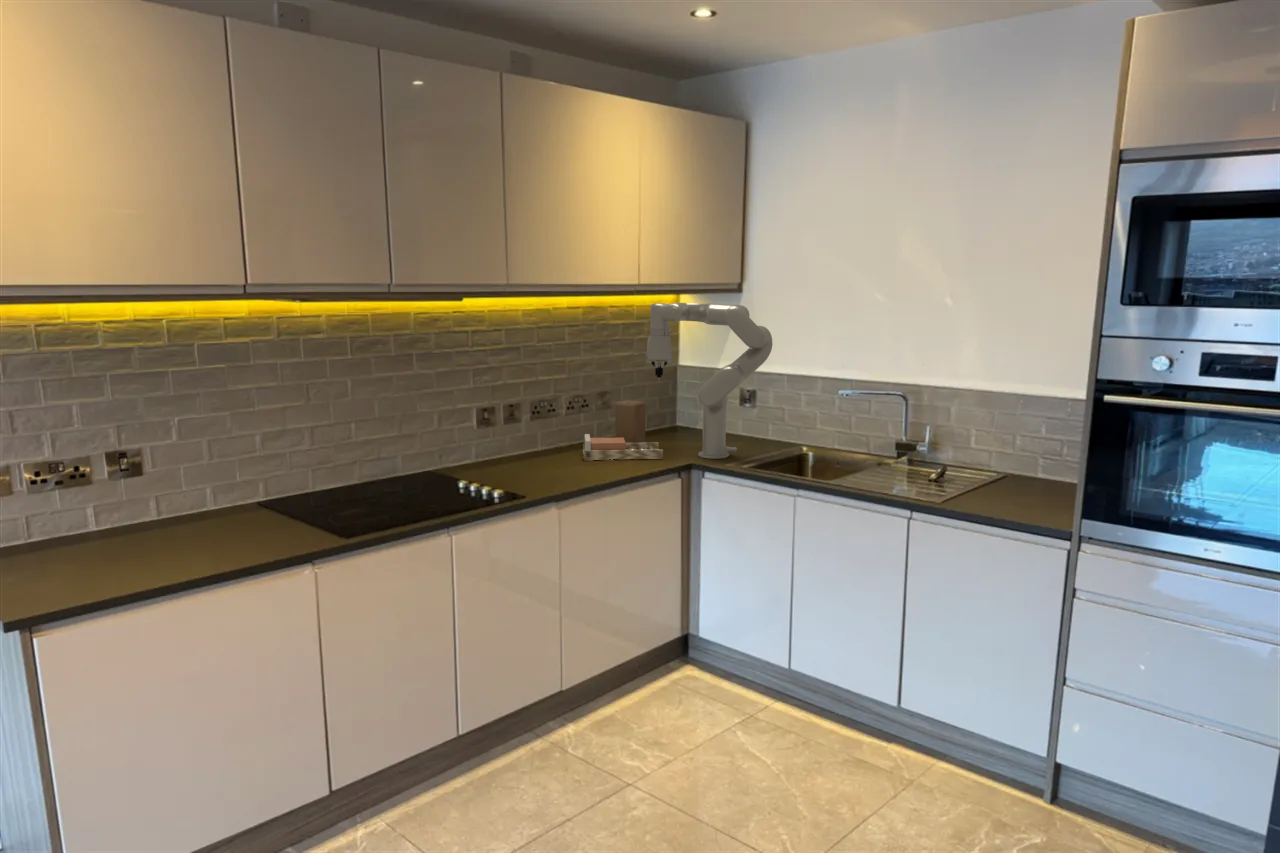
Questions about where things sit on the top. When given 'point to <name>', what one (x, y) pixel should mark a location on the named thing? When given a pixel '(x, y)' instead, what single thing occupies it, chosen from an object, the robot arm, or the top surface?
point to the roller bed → (626, 453)
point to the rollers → (640, 447)
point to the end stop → (587, 444)
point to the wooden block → (630, 421)
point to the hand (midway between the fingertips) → (659, 377)
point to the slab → (608, 444)
